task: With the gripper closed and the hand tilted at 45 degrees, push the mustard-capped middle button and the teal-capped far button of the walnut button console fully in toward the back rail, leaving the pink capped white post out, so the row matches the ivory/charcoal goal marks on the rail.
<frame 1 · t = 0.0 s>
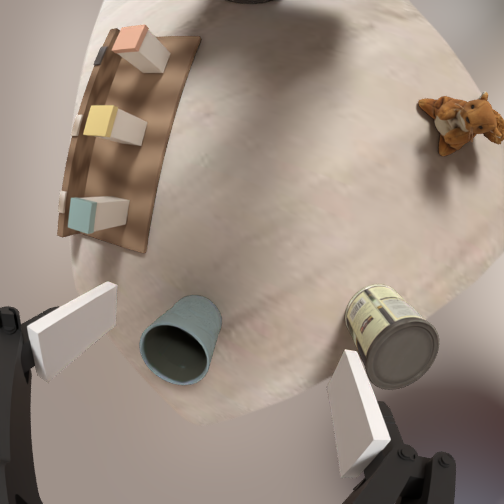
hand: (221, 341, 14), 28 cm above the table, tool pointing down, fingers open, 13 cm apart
coffee can: (374, 312, 42), on the table
button console: (128, 133, 40), on the table
stuffed squirrel: (451, 125, 34), on the table
middle button: (117, 126, 34), point 6 cm above the table, slide at 0.0 cm
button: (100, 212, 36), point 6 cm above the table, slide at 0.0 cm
pink capped white post: (143, 50, 31), point 6 cm above the table, slide at 0.0 cm
blue-grey embossed cup: (198, 319, 45), on the table
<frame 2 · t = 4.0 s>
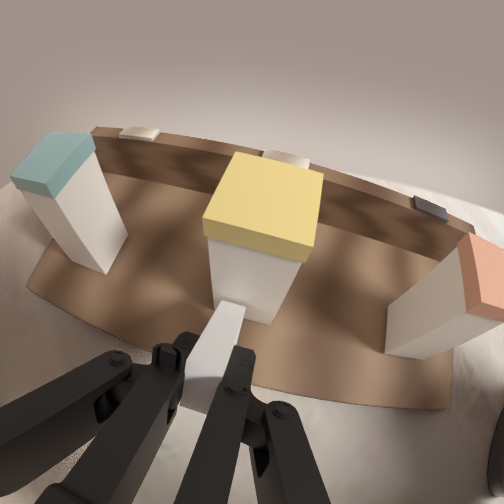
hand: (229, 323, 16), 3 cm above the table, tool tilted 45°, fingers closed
button console: (254, 279, 22), on the table
middle button: (257, 256, 15), point 6 cm above the table, slide at 0.2 cm, touching gripper
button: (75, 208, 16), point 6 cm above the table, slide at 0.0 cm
pink capped white post: (445, 310, 14), point 6 cm above the table, slide at 0.0 cm
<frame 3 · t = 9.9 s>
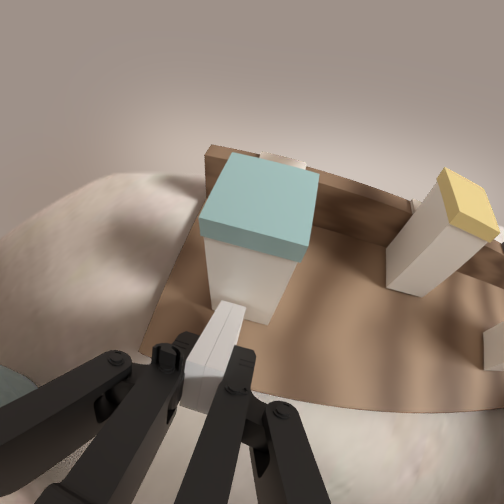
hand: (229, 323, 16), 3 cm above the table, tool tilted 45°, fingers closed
button console: (396, 320, 21), on the table
middle button: (435, 241, 18), point 6 cm above the table, slide at 6.1 cm
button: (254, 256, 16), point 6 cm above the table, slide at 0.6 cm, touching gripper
blue-grey embossed cup: (20, 420, 13), on the table
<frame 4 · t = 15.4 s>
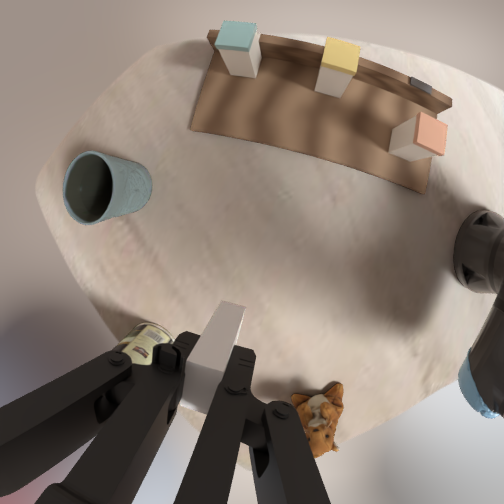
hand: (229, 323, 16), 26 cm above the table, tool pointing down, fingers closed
coffee can: (154, 345, 48), on the table
button console: (323, 108, 37), on the table
stuffed squirrel: (318, 407, 48), on the table
middle button: (335, 70, 30), point 6 cm above the table, slide at 6.1 cm
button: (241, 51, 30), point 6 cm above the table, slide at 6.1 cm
pink capped white post: (415, 139, 30), point 6 cm above the table, slide at 0.0 cm
blue-grey embossed cup: (130, 187, 43), on the table
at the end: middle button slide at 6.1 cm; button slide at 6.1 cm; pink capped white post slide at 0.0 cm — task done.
